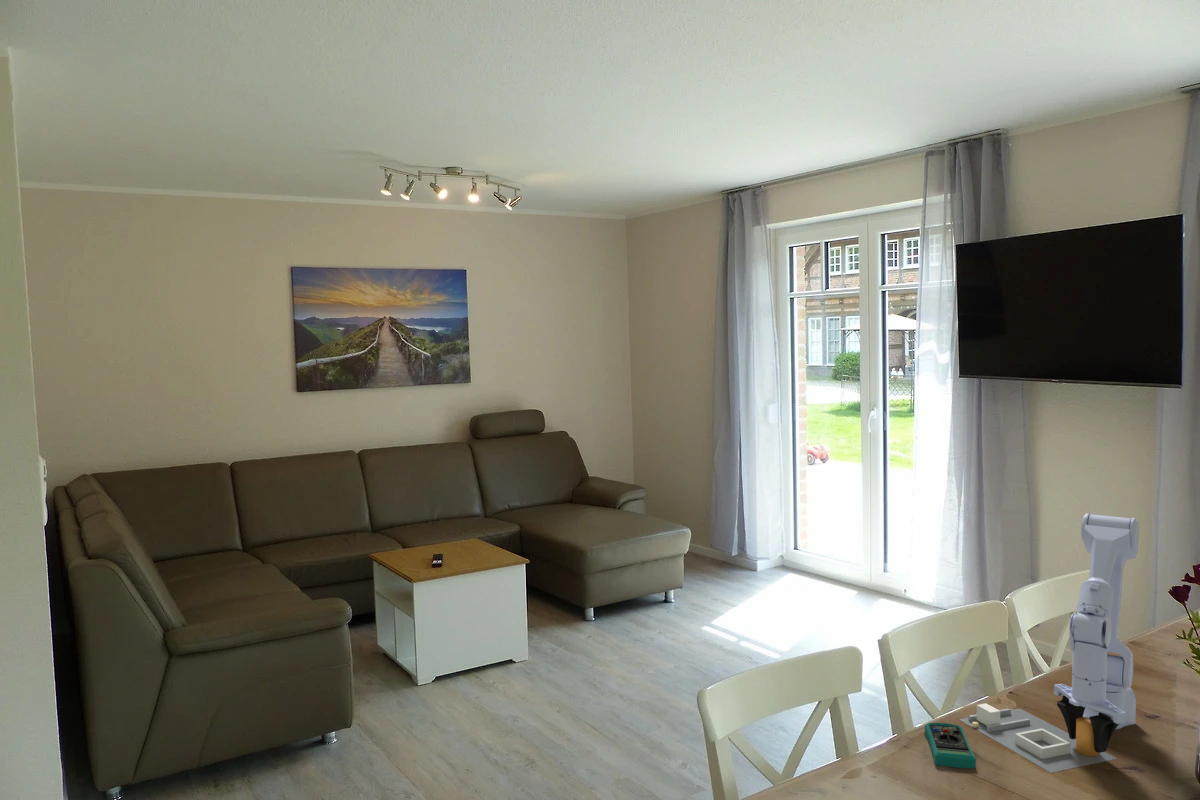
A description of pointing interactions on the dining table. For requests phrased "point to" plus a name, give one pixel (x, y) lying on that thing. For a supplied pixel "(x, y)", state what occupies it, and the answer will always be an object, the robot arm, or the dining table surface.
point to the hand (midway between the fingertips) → (1087, 744)
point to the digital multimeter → (949, 745)
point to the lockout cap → (1085, 737)
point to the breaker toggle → (987, 714)
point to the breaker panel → (1036, 740)
